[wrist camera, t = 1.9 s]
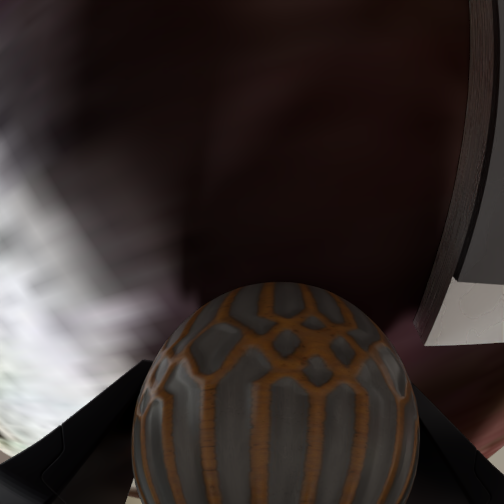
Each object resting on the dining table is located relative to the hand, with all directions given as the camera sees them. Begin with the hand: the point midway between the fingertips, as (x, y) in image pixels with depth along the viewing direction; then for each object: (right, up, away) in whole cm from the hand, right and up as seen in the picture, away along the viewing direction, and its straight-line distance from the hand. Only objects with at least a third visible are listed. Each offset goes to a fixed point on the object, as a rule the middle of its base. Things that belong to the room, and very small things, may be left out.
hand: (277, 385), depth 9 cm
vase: (0, +1, +2) cm, 2 cm away
